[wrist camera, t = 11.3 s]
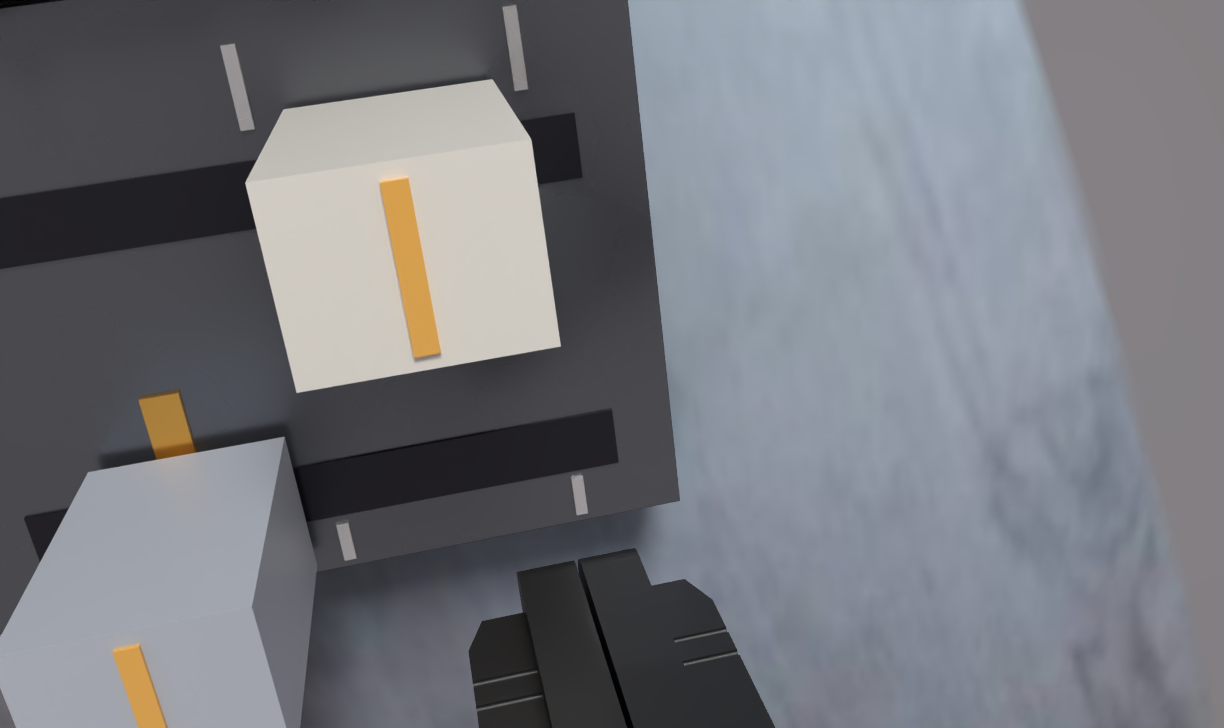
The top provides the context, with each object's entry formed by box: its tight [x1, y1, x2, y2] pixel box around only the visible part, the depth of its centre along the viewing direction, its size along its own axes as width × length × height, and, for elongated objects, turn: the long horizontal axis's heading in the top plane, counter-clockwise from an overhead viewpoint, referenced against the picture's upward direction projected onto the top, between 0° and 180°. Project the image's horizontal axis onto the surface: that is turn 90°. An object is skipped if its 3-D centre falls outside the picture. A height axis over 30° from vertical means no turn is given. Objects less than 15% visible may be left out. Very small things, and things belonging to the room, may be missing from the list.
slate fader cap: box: [0, 437, 317, 728], centre depth 16 cm, size 2×3×5 cm
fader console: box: [0, 0, 680, 634], centre depth 18 cm, size 10×12×2 cm
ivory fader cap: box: [245, 79, 561, 393], centre depth 15 cm, size 2×3×5 cm
